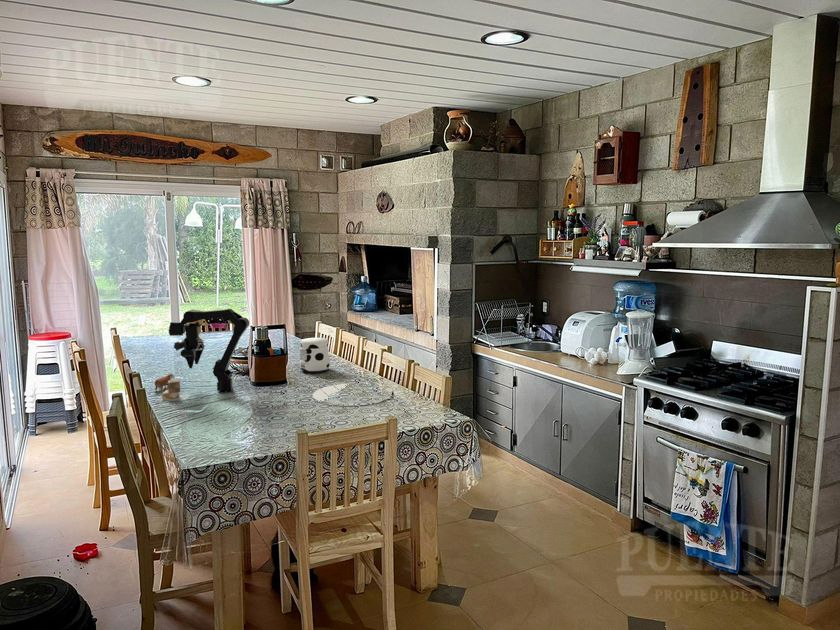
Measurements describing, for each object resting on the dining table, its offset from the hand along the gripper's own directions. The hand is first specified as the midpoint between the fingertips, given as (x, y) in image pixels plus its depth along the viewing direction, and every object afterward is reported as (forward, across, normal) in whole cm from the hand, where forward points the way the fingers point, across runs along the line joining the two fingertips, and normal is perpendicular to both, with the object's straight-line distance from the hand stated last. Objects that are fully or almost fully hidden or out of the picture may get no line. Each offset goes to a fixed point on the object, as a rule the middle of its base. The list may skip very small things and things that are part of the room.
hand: (193, 366), depth 303 cm
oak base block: (+12, +14, -7) cm, 20 cm away
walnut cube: (+9, +14, -5) cm, 17 cm away
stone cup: (+13, -132, -43) cm, 139 cm away
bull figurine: (+13, -3, -16) cm, 21 cm away
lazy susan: (+14, +11, +80) cm, 82 cm away
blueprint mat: (+13, +14, -5) cm, 20 cm away
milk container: (+13, -41, +55) cm, 70 cm away
